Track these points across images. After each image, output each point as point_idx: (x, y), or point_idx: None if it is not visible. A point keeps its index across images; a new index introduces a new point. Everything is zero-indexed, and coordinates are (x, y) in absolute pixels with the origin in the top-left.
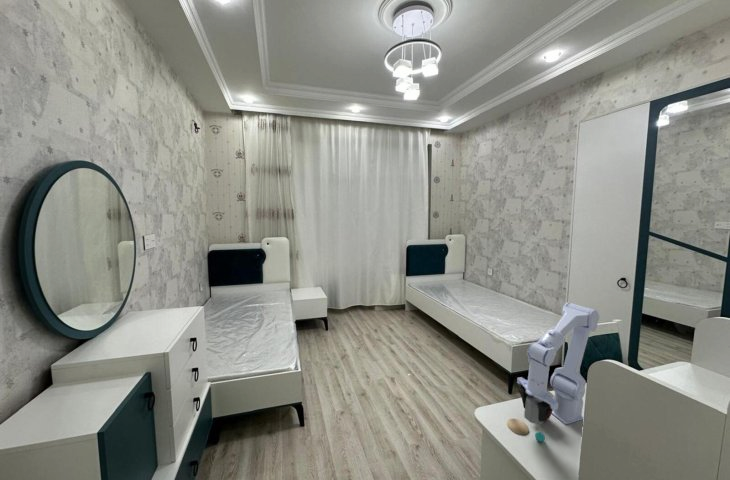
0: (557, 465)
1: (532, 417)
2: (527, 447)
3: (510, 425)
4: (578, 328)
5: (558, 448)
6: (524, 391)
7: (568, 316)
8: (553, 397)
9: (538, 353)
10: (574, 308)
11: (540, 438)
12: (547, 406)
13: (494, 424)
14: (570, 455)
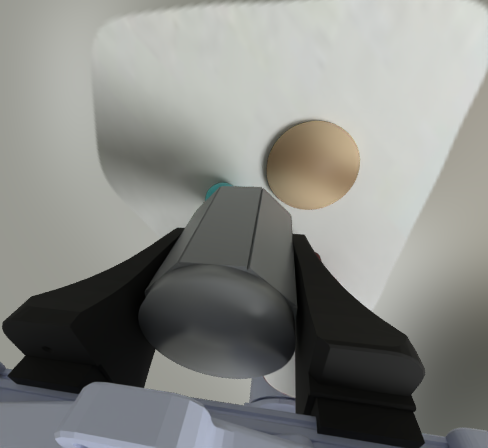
0: (126, 160)
1: (204, 209)
2: (210, 115)
3: (329, 137)
4: None
5: (187, 222)
6: (318, 367)
7: None
8: (287, 384)
9: None
10: None
11: (209, 192)
12: (24, 353)
13: (386, 53)
14: (159, 231)
